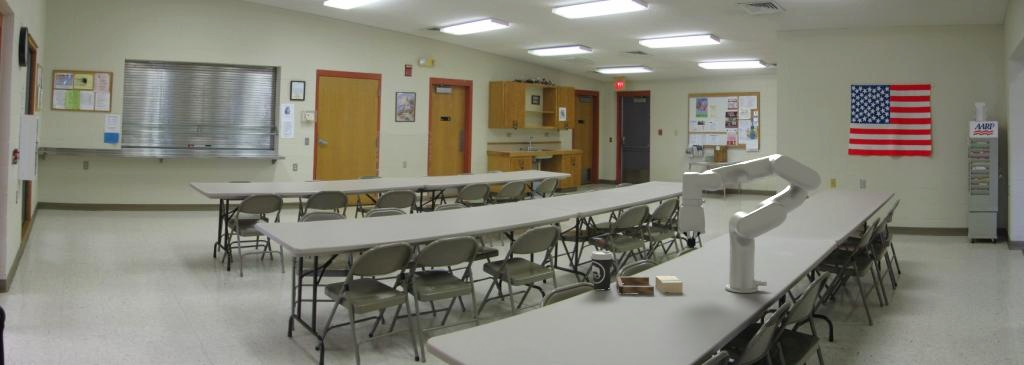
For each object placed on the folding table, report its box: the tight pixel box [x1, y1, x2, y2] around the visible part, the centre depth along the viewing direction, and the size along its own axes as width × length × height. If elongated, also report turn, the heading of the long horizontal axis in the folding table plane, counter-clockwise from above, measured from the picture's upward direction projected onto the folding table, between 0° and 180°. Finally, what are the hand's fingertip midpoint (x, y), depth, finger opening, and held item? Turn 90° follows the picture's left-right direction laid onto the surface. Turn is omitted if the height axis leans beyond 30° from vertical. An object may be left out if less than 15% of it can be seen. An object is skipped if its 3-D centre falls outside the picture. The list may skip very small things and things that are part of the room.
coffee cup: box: [589, 250, 614, 291], centre depth 270 cm, size 10×10×15 cm
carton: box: [655, 275, 684, 294], centre depth 268 cm, size 8×12×5 cm
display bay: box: [615, 275, 655, 295], centre depth 269 cm, size 14×18×3 cm
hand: (691, 247), depth 266 cm, fingers closed
